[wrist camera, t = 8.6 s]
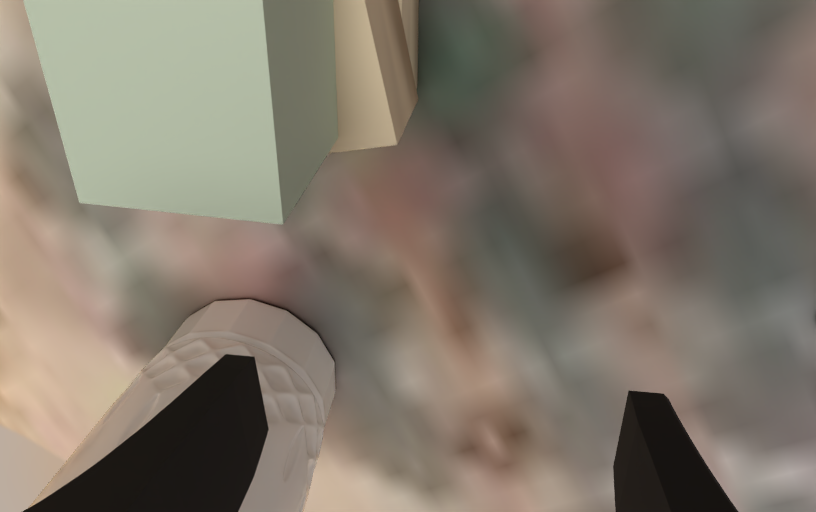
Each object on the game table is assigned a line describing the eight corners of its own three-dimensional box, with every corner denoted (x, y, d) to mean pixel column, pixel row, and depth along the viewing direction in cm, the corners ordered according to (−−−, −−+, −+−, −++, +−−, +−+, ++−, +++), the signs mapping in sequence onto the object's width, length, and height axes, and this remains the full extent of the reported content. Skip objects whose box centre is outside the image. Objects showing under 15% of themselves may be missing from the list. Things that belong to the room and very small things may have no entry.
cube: (331, -51, 13) (262, -6, 10) (338, 137, 16) (282, 224, 12) (141, -61, 14) (17, -22, 11) (174, 122, 16) (79, 202, 13)
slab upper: (365, -162, 15) (328, -158, 12) (418, 98, 18) (397, 144, 16) (129, -104, 16) (55, -90, 14) (215, 128, 20) (166, 173, 17)
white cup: (130, 310, 28) (-47, 521, 19) (294, 261, 25) (170, 483, 17) (229, 442, 31) (115, 669, 23) (383, 413, 28) (316, 658, 20)
